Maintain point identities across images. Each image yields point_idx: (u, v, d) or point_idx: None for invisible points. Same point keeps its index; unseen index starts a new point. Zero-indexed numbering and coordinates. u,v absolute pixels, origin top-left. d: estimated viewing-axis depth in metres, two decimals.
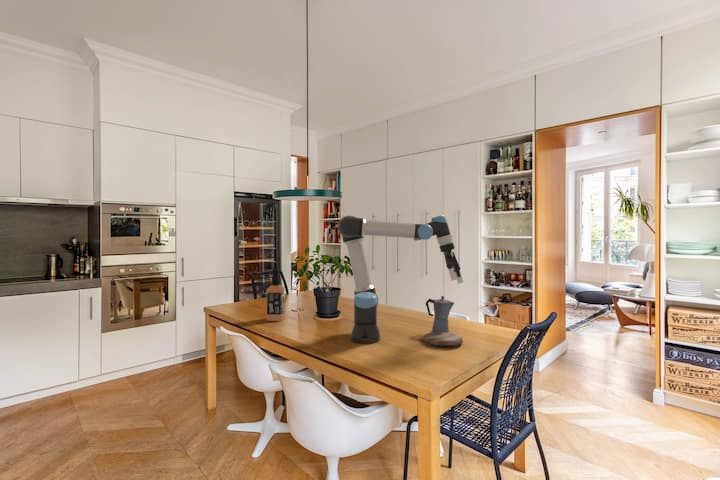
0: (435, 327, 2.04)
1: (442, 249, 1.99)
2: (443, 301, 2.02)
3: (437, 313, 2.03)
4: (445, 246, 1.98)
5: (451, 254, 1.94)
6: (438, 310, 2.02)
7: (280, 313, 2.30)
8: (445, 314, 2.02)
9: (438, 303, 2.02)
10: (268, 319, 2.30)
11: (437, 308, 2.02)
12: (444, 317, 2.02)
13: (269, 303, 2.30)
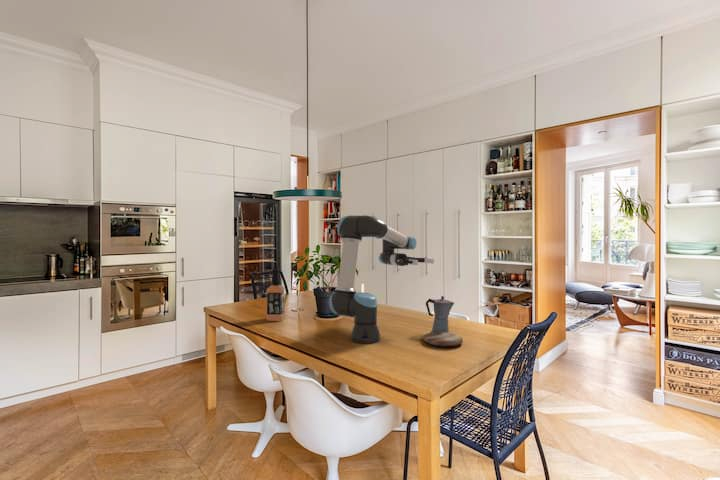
0: (435, 327, 2.04)
1: None
2: (443, 301, 2.02)
3: (437, 313, 2.03)
4: None
5: None
6: (438, 310, 2.02)
7: (280, 313, 2.30)
8: (445, 314, 2.02)
9: (438, 303, 2.02)
10: (268, 319, 2.30)
11: (437, 308, 2.02)
12: (444, 317, 2.02)
13: (269, 303, 2.30)
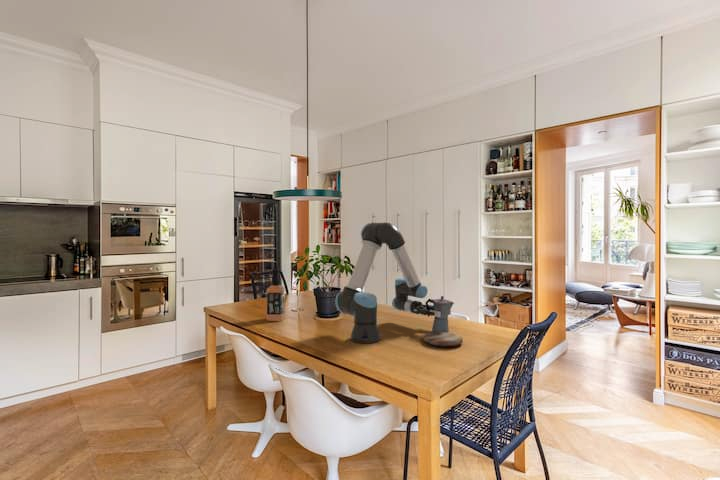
0: (435, 327, 2.04)
1: None
2: (443, 301, 2.02)
3: None
4: None
5: None
6: (437, 310, 2.02)
7: (280, 313, 2.30)
8: (445, 314, 2.01)
9: (438, 303, 2.01)
10: (268, 319, 2.30)
11: (437, 308, 2.02)
12: (444, 317, 2.02)
13: (269, 303, 2.30)
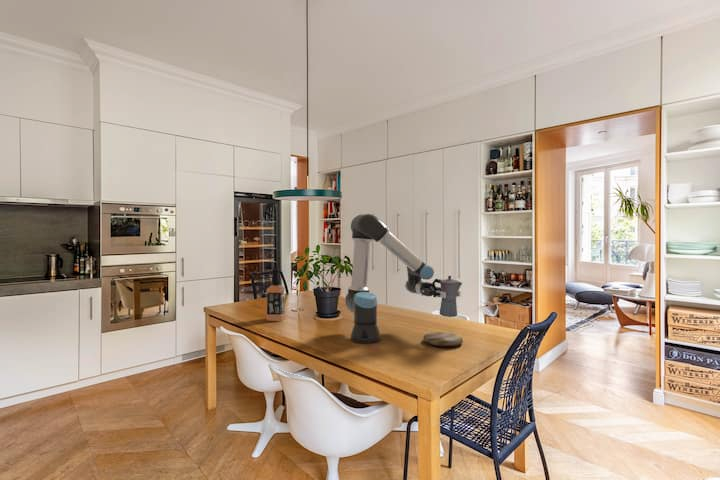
0: (441, 309, 1.88)
1: None
2: (449, 281, 1.85)
3: None
4: None
5: None
6: (443, 290, 1.86)
7: (280, 313, 2.30)
8: (451, 295, 1.85)
9: (443, 283, 1.85)
10: (268, 319, 2.30)
11: (442, 288, 1.86)
12: (450, 298, 1.85)
13: (269, 303, 2.30)
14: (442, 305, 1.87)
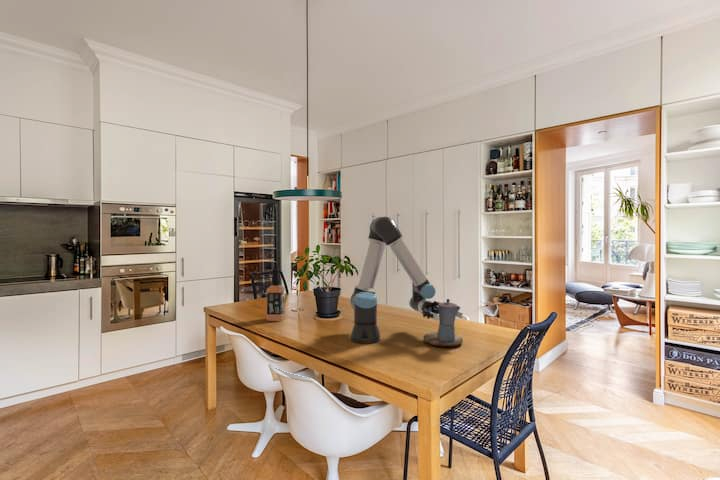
0: (438, 333, 1.82)
1: None
2: (446, 305, 1.79)
3: (440, 318, 1.81)
4: None
5: None
6: (440, 314, 1.81)
7: (280, 313, 2.30)
8: (448, 319, 1.79)
9: (440, 306, 1.80)
10: (268, 319, 2.30)
11: (440, 312, 1.81)
12: (447, 323, 1.79)
13: (269, 303, 2.30)
14: (439, 329, 1.82)
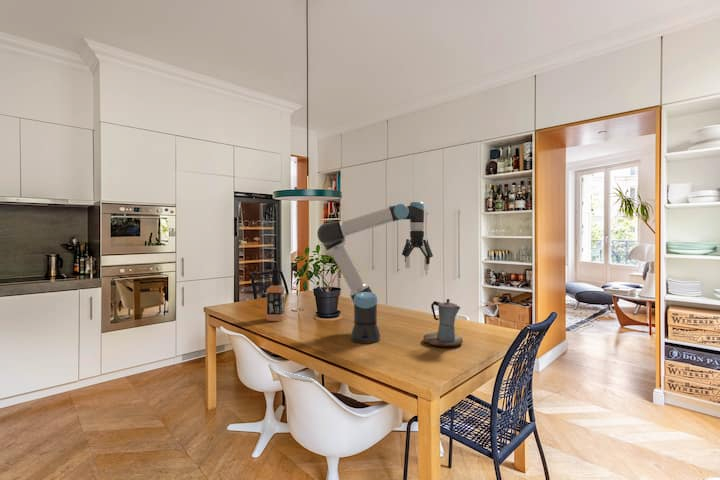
0: (438, 333, 1.82)
1: (415, 234, 2.01)
2: (446, 304, 1.80)
3: (440, 317, 1.81)
4: (420, 232, 2.01)
5: (426, 241, 1.99)
6: (440, 314, 1.81)
7: (280, 313, 2.30)
8: (448, 319, 1.79)
9: (440, 306, 1.80)
10: (268, 319, 2.30)
11: (440, 312, 1.81)
12: (447, 323, 1.79)
13: (269, 303, 2.30)
14: (439, 329, 1.82)
